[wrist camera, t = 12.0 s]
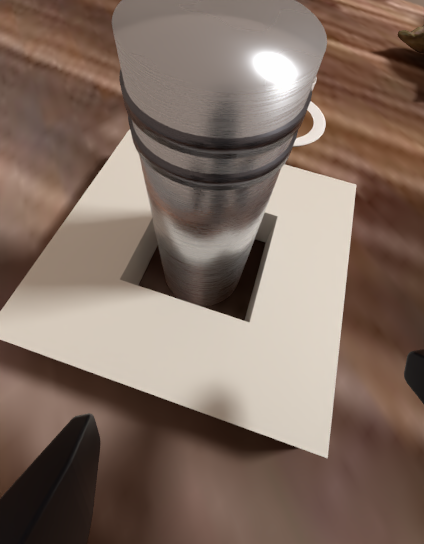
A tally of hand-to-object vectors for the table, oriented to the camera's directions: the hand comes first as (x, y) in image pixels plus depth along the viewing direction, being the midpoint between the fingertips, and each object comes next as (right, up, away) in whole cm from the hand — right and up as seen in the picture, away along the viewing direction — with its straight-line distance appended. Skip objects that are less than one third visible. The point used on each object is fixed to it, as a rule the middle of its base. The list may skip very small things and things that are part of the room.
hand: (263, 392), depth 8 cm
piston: (-2, +3, +11) cm, 11 cm away
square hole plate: (-2, +3, +11) cm, 11 cm away
